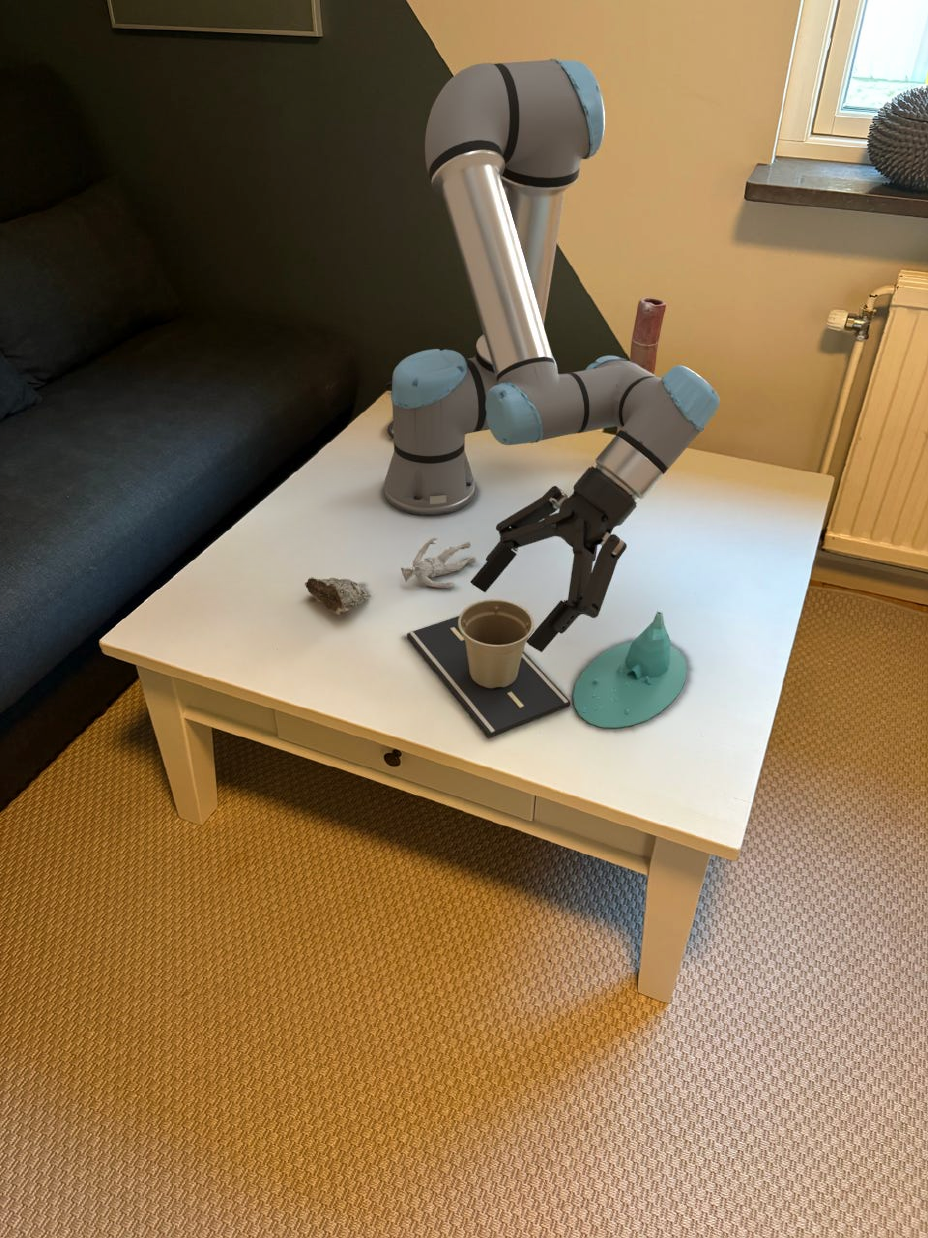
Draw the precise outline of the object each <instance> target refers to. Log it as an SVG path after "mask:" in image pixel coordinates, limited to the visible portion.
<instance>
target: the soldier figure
mask: <svg viewBox="0 0 928 1238" xmlns="http://www.w3.org/2000/svg"><path fill="white" fill-rule="evenodd" d="M435 541H438V537H432V538H430V539H429V540H428V541H427V542H425V543H424V544H423V546H422V547H421V548H420V549H419V550H418V552H417V553H416V555H415V557H414V559H413V561H412V567H402V566H401V567H400V570H401V573H402V577H403V578H404V581H405V582H406V583H408V581H409V580H410V579H411V578H412V577H413V575H414V576H415V578H417V579H418V581H419V582H421V583H423V584H425V585H426V586H429V587H431V588H438V589H441V588H453V587H455V583H454V581H449V582H440V581H434V580H432V579H431V578H435V577H439V576H441V575H447V574H450V573H453V572H455V571H459V570H460V571H461V570H462V569H463V568H464V566H466V565H467V564H475V563H476V562H477V558H476V557H474V556H473V557H471V558H465V559H463V561H456V562H452V563H448V564H445V563H446V562H447V561H448V560H449V559H450V558H451V557H452V556H454V555H455V554H456V553H457V552H458V551H460V550H466V549H469V548H471V542H470V541H467V542H465V543H462V544H460V545H456V546H450V547H449V548H448V549H445V550H443V551H442V552H441V553H440V554H439V555H437V557H433V558H432V557H426V558H424V560H423V557H424V555H426V553H427V551H428V550H429V548H430V545H436V544H437V543H436V542H435Z"/></svg>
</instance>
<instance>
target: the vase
mask: <svg viewBox="0 0 928 1238" xmlns="http://www.w3.org/2000/svg"><path fill="white" fill-rule="evenodd" d="M666 308H667V303H666V302H665V301H663V300H662V299H658V298H653V297H646V296H645V297H642V298H640V299H639V300H638V302H637V308H636V315H635V319H634V325H633V331H632V335H631V342H630V353H629V361H632V362H633V363H635V364H637V365H638V366H640V367H641V368H643V369H645V370H647V371H648V372H650V373H652V374H654V375H655V372H656V368H657V367H656V366H657V356H658V346H659V341H660V337H661V331H662V325H663V322H664V317H665V312H666ZM616 428H617V429H616V433H615V434H617V433H618V432H619V431H620V430H621V429H622V428H621V427H618V426H617V427H616Z"/></svg>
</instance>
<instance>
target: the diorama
mask: <svg viewBox="0 0 928 1238" xmlns="http://www.w3.org/2000/svg"><path fill="white" fill-rule="evenodd" d="M669 635H670V634H669V632H668V630H667V628H666V626H665V619H664V613H663V612H662V611H656V613H655V616H654V617H653V620H652V622H650V624H648V626H646V628H645V629H644V630H643V631H642V632H641V633H640V634H639V635H638V636H637V637H636V638H635V639H634V640H630V641H627V642H624V643H620V644H617V645H615V646H613V647H611V648H609V649H607V650H605V651H604V652H602V653H601V654H600V655H599V656H597V657H595V658H594V660H592V661H590V663H589V664H588V665H587V666H586V667H585V669H584V670H583V671H581V673H580V676H579V678H578V679H577V681H576V682H575V686H574V690H573V694H572V697H573V704H574V705H573V706H574V708H575V710H576V712H577V713H578V715H579V717H580V718H581V719H582V720H584V721H585V722H586V723H588V724H590V725H591V726H592V725H593V726H596V727H598V728H603V729H615V730H616V729H621V728H628V727H632V726H633V727H634V726H636V725H638V724H641V723H645V722H646V721H648V720H650V719H652V718H654V717H655V716H657V715H659V714H660V713H662V712H663V711H664V710H665V709H666V708H668V706H670V705H671V704H672V703H673V702H674V701H675V699H676V698H677V696H678V695H679V694H680V692H681V691H682V688H683V686H684V683H685V681H686V678H687V669H688V666H687V662H686V659H685V657H684V655H683V654H682V652H680V651H679V649H677V648H676V647H674V646H673V645H671V644H672V640H671V638H670V636H669Z"/></svg>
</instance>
